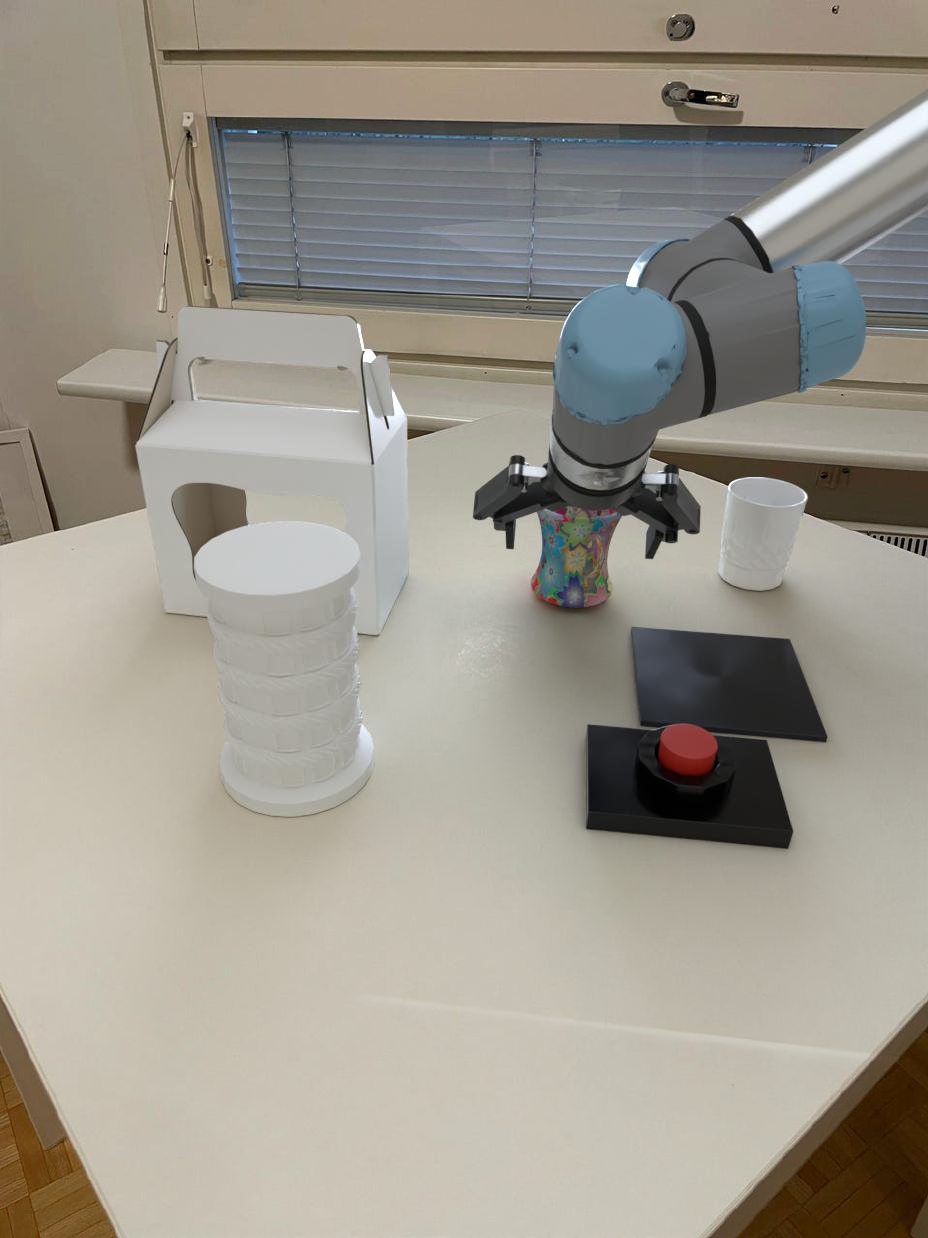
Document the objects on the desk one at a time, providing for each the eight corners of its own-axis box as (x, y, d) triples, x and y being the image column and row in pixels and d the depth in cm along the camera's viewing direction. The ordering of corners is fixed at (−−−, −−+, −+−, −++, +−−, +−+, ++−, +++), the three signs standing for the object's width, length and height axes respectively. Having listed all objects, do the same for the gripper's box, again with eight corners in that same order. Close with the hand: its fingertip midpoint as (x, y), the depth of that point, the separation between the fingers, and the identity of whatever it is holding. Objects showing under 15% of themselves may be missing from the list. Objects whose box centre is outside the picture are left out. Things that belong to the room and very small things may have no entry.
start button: (709, 744, 65) (713, 726, 64) (717, 780, 62) (721, 761, 61) (655, 739, 66) (659, 721, 65) (660, 775, 62) (663, 756, 61)
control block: (762, 756, 69) (771, 721, 67) (788, 849, 61) (799, 812, 59) (585, 740, 70) (589, 705, 68) (586, 829, 62) (590, 792, 60)
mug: (516, 575, 94) (522, 483, 89) (598, 569, 96) (609, 478, 90) (547, 633, 84) (555, 534, 79) (638, 625, 86) (652, 527, 80)
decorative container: (400, 741, 70) (396, 538, 60) (322, 837, 61) (304, 614, 51) (278, 703, 74) (257, 507, 64) (188, 788, 64) (148, 573, 55)
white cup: (761, 601, 90) (781, 513, 85) (698, 574, 95) (713, 488, 90) (801, 579, 95) (822, 493, 90) (739, 553, 100) (755, 471, 95)
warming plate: (788, 643, 83) (790, 638, 83) (826, 742, 71) (828, 736, 70) (630, 631, 85) (631, 626, 84) (639, 726, 72) (640, 720, 72)
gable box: (411, 573, 94) (408, 302, 80) (381, 637, 83) (372, 336, 68) (216, 553, 97) (179, 289, 82) (162, 613, 86) (108, 319, 71)
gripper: (429, 483, 65) (450, 568, 86) (768, 505, 63) (707, 586, 84) (439, 392, 67) (458, 497, 88) (769, 411, 65) (709, 513, 86)
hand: (579, 541), depth 86 cm, fingers open, 13 cm apart
